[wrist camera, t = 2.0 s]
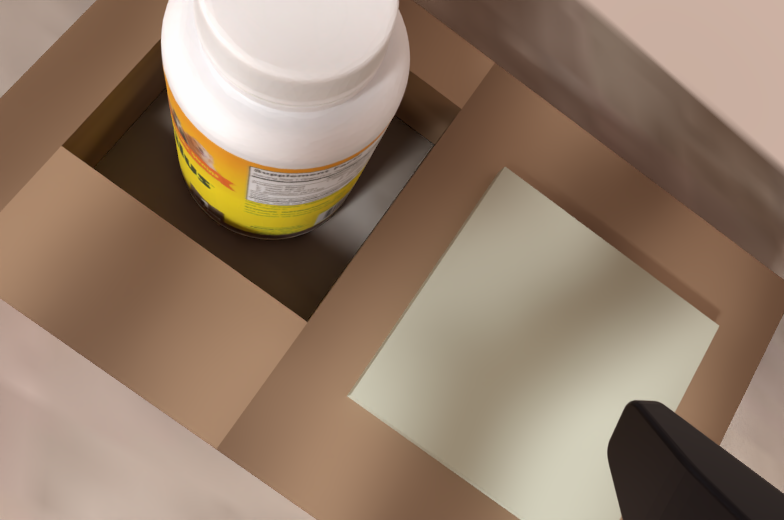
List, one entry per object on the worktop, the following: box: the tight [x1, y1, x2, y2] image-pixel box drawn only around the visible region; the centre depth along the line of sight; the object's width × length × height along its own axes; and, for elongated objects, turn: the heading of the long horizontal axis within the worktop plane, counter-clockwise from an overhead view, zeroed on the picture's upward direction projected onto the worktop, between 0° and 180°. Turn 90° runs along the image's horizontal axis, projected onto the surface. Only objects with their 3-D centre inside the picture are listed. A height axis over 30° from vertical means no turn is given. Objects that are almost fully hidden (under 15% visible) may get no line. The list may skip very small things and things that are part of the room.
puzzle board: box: [0, 0, 784, 520], centre depth 22 cm, size 22×14×4 cm, turn 56°
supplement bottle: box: [161, 0, 410, 240], centre depth 19 cm, size 6×6×10 cm
